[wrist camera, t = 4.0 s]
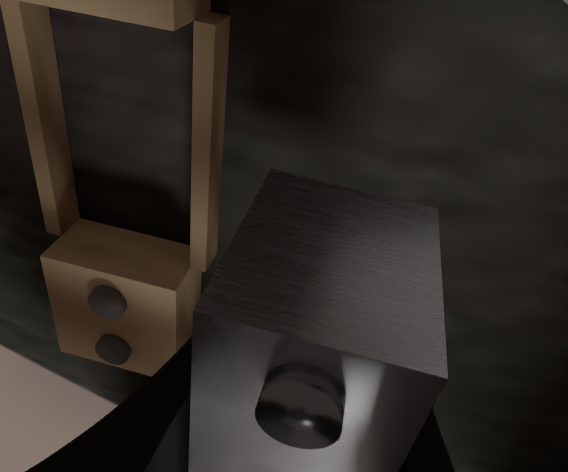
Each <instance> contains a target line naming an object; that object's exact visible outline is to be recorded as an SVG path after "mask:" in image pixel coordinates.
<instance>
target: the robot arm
mask: <svg viewBox="0 0 568 472" xmlns="http://www.w3.org/2000/svg"><path fill="white" fill-rule="evenodd" d="M191 365H192V336H191V337H190V338H189V339H188V341H187V342H186V343H185V344H184V345H183V346H182V347H181V348H180V349H179V350H178V351H177V352H176V353H175V354H174V355H173V356H172V357H171V358H170V359H169V360H168V361H167V362H166V363H165V364H164V365H163V366H162V367H161V368H160V369H159V370H158V371H157V372H156V373H155V374H154V375H153V376H152V377H150V378H149V379H148V380H147V381H146V382H145V383H144V384H143V385H142V386H140V387H139V388H138V389H137V390H136V391H135V392H134V393H132V394H131V395H130V396H129V397H128V398H127V399H126V400H124V401H123V402H122V403H121V404H120V405H118V406H117V407H116V408H115V409H114V410H112V411H111V412H110V413H109V414H107V415H106V416H105V417H104V418H102V419H101V420H100V421H98V422H97V423H96V424H94V425H93V426H92V427H90V428H89V429H88V430H86V431H85V432H84V433H82V434H81V435H80V436H78V437H77V438H75V439H74V440H72V441H71V442H69V443H68V444H67V445H65V446H64V447H62V448H61V449H59V450H58V451H57V452H55V453H54V454H52V455H51V456H49V457H48V458H46V459H45V460H43V461H41V462H40V463H39V464H37V465H35V466H34V467H32V468H30V469H29V470H27V471H25V472H188V467H189V433H190V399H191ZM399 472H455V470H454V468H453V465H452V462H451V460H450V457H449V454H448V452H447V449H446V446H445V443H444V441H443V438H442V435H441V432H440V429H439V426H438V423H437V420H436V417H435V414H434V410H433V408H432V410H431V412H430V414H429V415H428V417H427V419H426V421H425V423H424V425H423V427H422V429H421V430H420V432H419V434H418V436H417V438H416V440H415V442H414V444H413V445H412V447H411V449H410V451H409V453H408V455H407V457H406V459H405V461H404V462H403V464H402V466H401V468H400V470H399Z"/></svg>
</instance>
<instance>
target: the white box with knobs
mask: <svg viewBox="0 0 568 472" xmlns="http://www.w3.org/2000/svg"><path fill="white" fill-rule="evenodd" d="M447 380H448V372H447V356H446V339H445V323H444V307H443V290H442V274H441V257H440V241H439V224H438V208H437V207H434V206H430V205H425V204H421V203H417V202H412V201H408V200H404V199H399V198H395V197H391V196H386V195H382V194H378V193H373V192H369V191H365V190H360V189H356V188H351V187H347V186H343V185H338V184H334V183H330V182H325V181H321V180H317V179H312V178H308V177H304V176H299V175H295V174H291V173H286V172H282V171H278V170H273V169H270V171H269V173H268V175H267V176H266V178H265V180H264V182H263V184H262V186H261V187H260V189H259V191H258V193H257V195H256V197H255V198H254V200H253V202H252V204H251V206H250V208H249V209H248V211H247V213H246V215H245V217H244V219H243V220H242V222H241V224H240V226H239V228H238V230H237V231H236V233H235V235H234V237H233V239H232V241H231V242H230V244H229V246H228V248H227V250H226V252H225V253H224V255H223V257H222V259H221V261H220V263H219V264H218V266H217V268H216V270H215V272H214V274H213V275H212V277H211V279H210V281H209V283H208V285H207V286H206V288H205V290H204V292H203V294H202V296H201V297H200V299H199V301H198V303H197V305H196V307H195V308H194V310H193V331H192V365H191V399H190V433H189V467H188V472H399V470H400V468H401V466H402V464H403V462H404V461H405V459H406V457H407V455H408V453H409V451H410V449H411V447H412V445H413V444H414V442H415V440H416V438H417V436H418V434H419V432H420V430H421V429H422V427H423V425H424V423H425V421H426V419H427V417H428V415H429V414H430V412H431V410H432V408H433V406H434V404H435V402H436V400H437V398H438V397H439V395H440V393H441V391H442V389H443V387H444V385H445V383H446V382H447Z"/></svg>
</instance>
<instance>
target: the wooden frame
mask: <svg viewBox="0 0 568 472" xmlns="http://www.w3.org/2000/svg"><path fill="white" fill-rule="evenodd" d="M0 5H1V10H2V14H3V19H4V24H5V29H6V34H7V39H8V44H9V49H10V54H11V59H12V64H13V69H14V74H15V79H16V84H17V89H18V94H19V99H20V104H21V108H22V113H23V118H24V123H25V128H26V133H27V138H28V143H29V148H30V153H31V158H32V163H33V168H34V173H35V178H36V183H37V188H38V193H39V198H40V203H41V207H42V212H43V217H44V222H45V227H46V232H47V233H51V234H55V235H59V236H61V237H60V238H59V239H57V240H56V241H55V242H54V243H53V244H52V245H51V246H50V247H49V248H48V249H47V250H46V251H45V252H44V253H43V254H42V255H40V259H41V264H42V268H43V273H44V277H45V282H46V287H47V291H48V296H49V300H50V305H51V309H52V314H53V318H54V323H55V327H56V332H57V337H58V341H59V346H60V350H61V351H62V352H65V353H69V354H73V355H76V356H80V357H83V358H87V359H90V360H94V361H98V362H101V363H105V364H108V365H112V366H115V367H119V368H123V369H126V370H130V371H133V372H137V373H141V374H144V375H148V376H151V377H152V376H153V375H154V374H155V373H156V372H157V371H158V370H159V369H160V368H161V367H162V366H163V365H164V364H165V363H166V362H167V361H168V360H169V359H170V358H171V357H172V356H173V355H174V354H175V353H176V352H177V351H178V350H179V349H180V348H181V347H182V346H183V345H184V344H185V343H186V342H187V341H188V339H189V338H190V337H191V336H192V331H193V310H194V308H195V307H196V305H197V303H198V301H199V299H200V297H201V274H202V272H206V271H207V269H208V267H209V265H210V264H211V262H212V260H213V258H214V257H215V255H216V253H217V245H218V228H219V210H220V193H221V175H222V158H223V140H224V122H225V105H226V87H227V70H228V52H229V35H230V17H231V15H226V14H220V13H215V12H210V9H211V0H0ZM49 7H53V8H58V9H63V10H68V11H73V12H78V13H83V14H89V15H94V16H99V17H104V18H109V19H114V20H119V21H124V22H129V23H134V24H139V25H144V26H149V27H154V28H159V29H165V30H170V31H175V30H177V29H179V28H181V27H183V26H185V25H186V24H188V23H190V22H192V21H194V27H193V93H192V160H191V226H190V245H187V244H183V243H179V242H175V241H171V240H167V239H163V238H158V237H154V236H150V235H146V234H142V233H138V232H134V231H130V230H126V229H122V228H118V227H114V226H110V225H106V224H102V223H98V222H94V221H89V220H85V219H81V218H80V214H79V208H78V201H77V194H76V187H75V181H74V174H73V167H72V160H71V154H70V147H69V140H68V133H67V127H66V120H65V113H64V106H63V100H62V93H61V86H60V79H59V73H58V66H57V59H56V52H55V46H54V39H53V32H52V25H51V19H50V12H49Z"/></svg>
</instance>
